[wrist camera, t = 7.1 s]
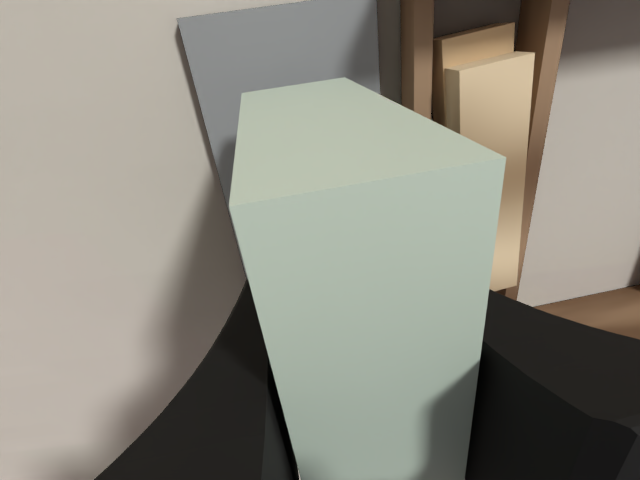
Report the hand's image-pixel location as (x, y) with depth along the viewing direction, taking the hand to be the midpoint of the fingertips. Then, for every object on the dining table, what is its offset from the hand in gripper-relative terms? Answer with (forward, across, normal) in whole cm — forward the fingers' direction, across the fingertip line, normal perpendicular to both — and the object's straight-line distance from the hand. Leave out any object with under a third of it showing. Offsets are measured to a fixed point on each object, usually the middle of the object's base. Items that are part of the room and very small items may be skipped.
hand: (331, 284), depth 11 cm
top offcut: (+4, -7, 0) cm, 8 cm away
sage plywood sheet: (+3, 0, 0) cm, 3 cm away
